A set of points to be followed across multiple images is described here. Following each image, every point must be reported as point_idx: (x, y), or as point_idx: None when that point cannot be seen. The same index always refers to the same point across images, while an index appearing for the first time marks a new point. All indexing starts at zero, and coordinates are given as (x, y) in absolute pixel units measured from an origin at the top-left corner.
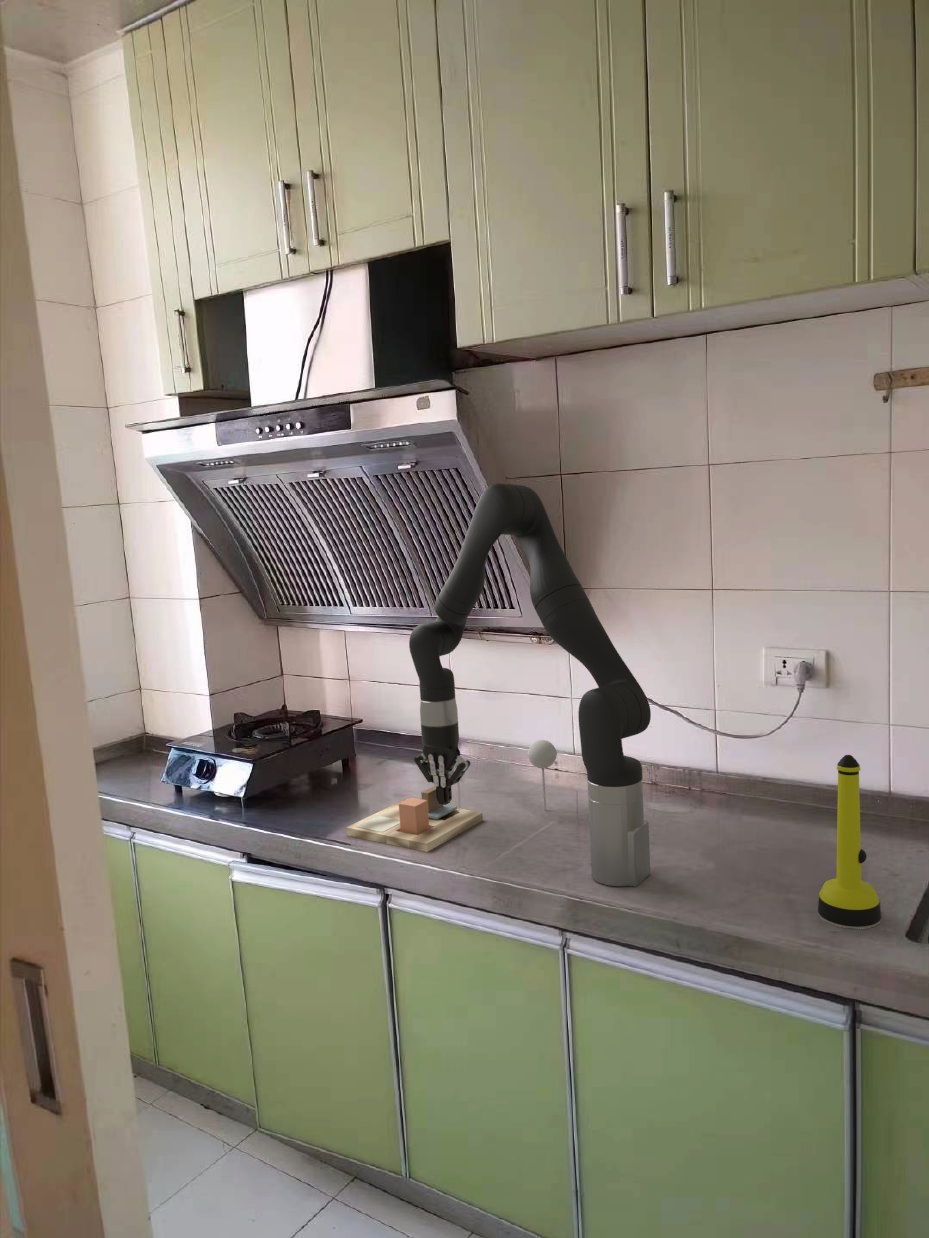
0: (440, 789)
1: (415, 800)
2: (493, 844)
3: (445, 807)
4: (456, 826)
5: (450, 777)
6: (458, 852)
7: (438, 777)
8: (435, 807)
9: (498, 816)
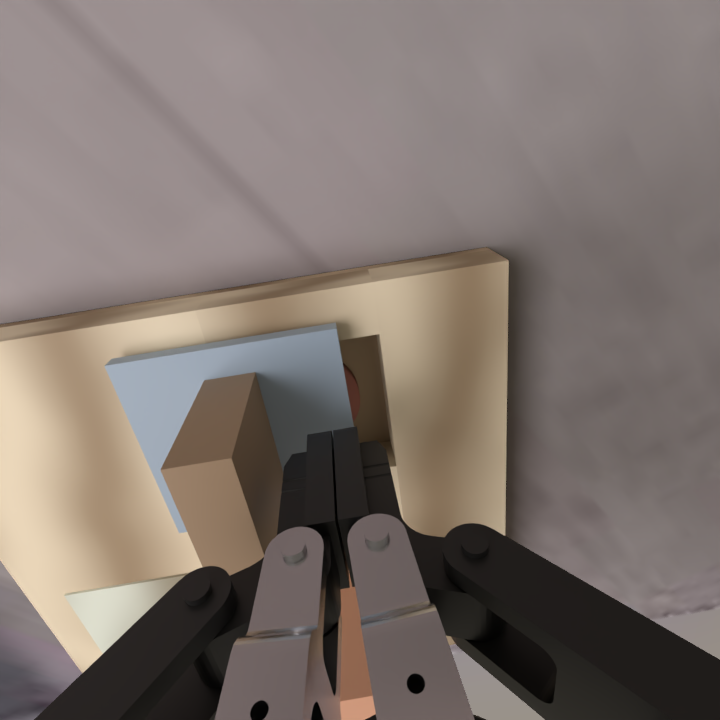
0: (347, 568)
1: (352, 717)
2: (677, 428)
3: (291, 384)
4: (501, 483)
5: (503, 681)
6: (582, 541)
7: (337, 677)
8: (273, 452)
9: (521, 107)
